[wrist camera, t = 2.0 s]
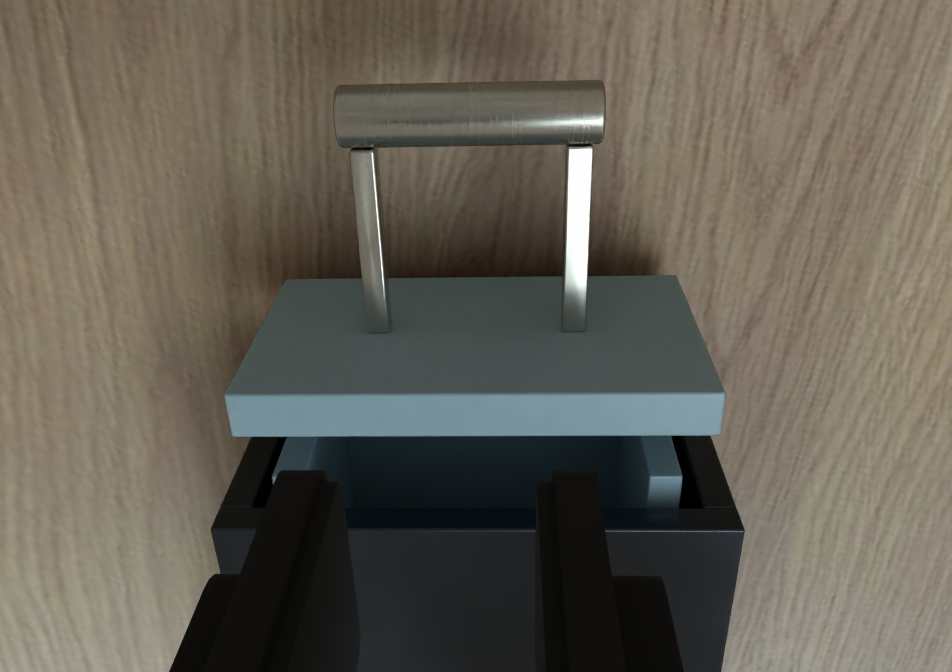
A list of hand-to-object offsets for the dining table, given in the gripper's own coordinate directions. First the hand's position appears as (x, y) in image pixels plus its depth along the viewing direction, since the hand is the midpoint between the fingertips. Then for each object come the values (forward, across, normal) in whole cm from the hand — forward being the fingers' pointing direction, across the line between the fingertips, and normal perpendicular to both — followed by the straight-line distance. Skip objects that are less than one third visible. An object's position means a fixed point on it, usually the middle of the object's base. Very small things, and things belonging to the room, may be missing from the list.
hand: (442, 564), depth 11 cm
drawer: (+14, 0, +6) cm, 16 cm away
